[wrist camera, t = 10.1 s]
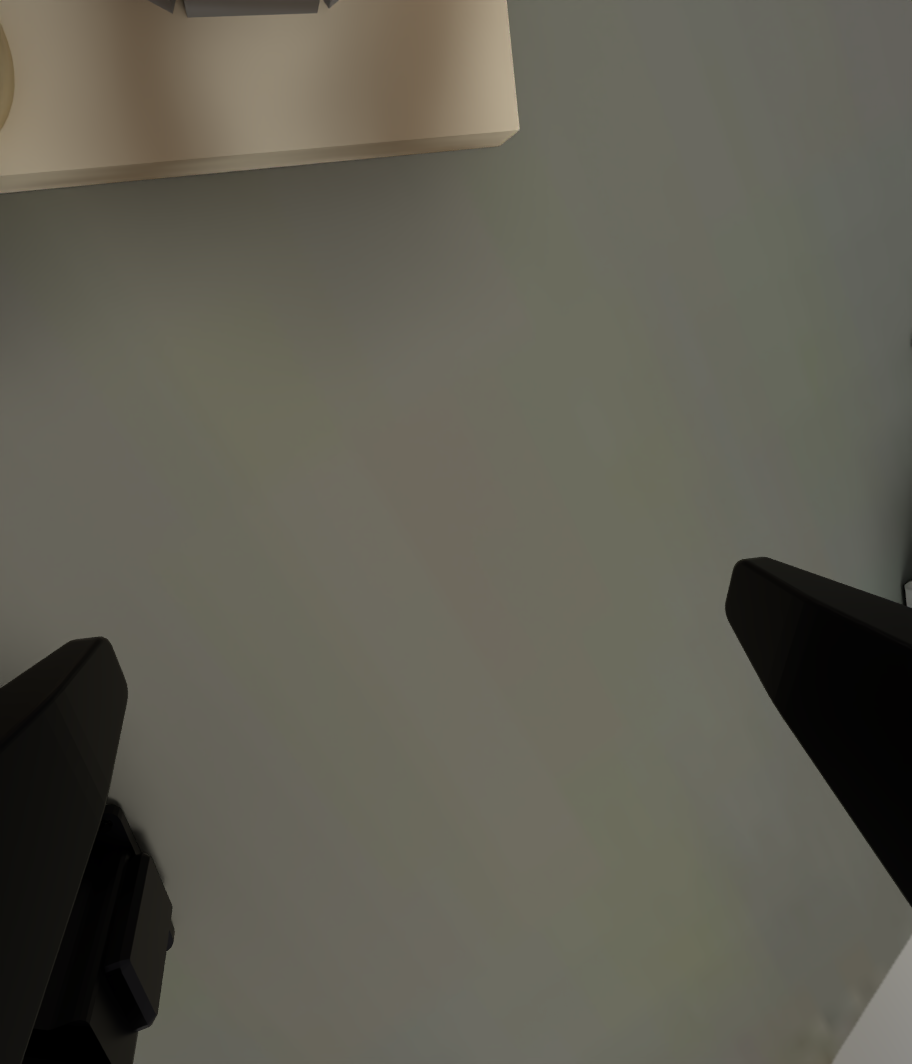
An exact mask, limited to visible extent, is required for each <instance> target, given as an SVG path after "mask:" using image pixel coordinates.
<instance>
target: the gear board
mask: <svg viewBox="0 0 912 1064" xmlns="http://www.w3.org/2000/svg"><path fill="white" fill-rule="evenodd" d="M519 130H520V129H519V119H518V109H517V99H516V89H515V79H514V69H513V59H512V49H511V39H510V29H509V20H508V10H507V0H0V193H10V192H21V191H31V190H42V189H53V188H63V187H74V186H84V185H95V184H105V183H116V182H126V181H137V180H148V179H158V178H169V177H179V176H190V175H200V174H211V173H221V172H232V171H243V170H253V169H264V168H274V167H285V166H295V165H306V164H316V163H327V162H338V161H348V160H359V159H369V158H380V157H390V156H401V155H411V154H422V153H433V152H443V151H454V150H464V149H475V148H485V147H496V146H500V145H502V144H503V143H504V142H505V141H507V140H508V139H509V138H510V137H512V136H513V135H514V134H515V133H517V132H518V131H519Z"/></svg>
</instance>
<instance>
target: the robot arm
mask: <svg viewBox="0 0 912 1064" xmlns="http://www.w3.org/2000/svg"><path fill="white" fill-rule="evenodd" d="M725 611H726V616H727V619H728V621H729V623H730V625H731V627H732V629H733V631H734V632H735V634H736V636H737V638H738V640H739V642H740V644H741V645H742V647H743V649H744V651H745V653H746V655H747V657H748V658H749V660H750V662H751V664H752V666H753V668H754V670H755V671H756V673H757V675H758V677H759V679H760V681H761V682H762V684H763V686H764V688H765V690H766V692H767V693H768V695H769V697H770V698H771V700H772V702H773V704H774V705H775V707H776V708H777V710H778V711H779V713H780V714H781V716H782V718H783V719H784V721H785V722H786V723H787V725H788V726H789V728H790V729H791V731H792V732H793V734H794V735H795V737H796V738H797V740H798V741H799V743H800V744H801V746H802V747H803V748H804V750H805V751H806V753H807V754H808V756H809V757H810V759H811V760H812V762H813V763H814V765H815V766H816V768H817V769H818V771H819V772H820V773H821V775H822V776H823V778H824V779H825V781H826V782H827V784H828V785H829V787H830V788H831V790H832V791H833V793H834V794H835V796H836V797H837V798H838V800H839V801H840V803H841V804H842V806H843V807H844V809H845V810H846V812H847V813H848V815H849V816H850V818H851V819H852V821H853V822H854V823H855V825H856V826H857V828H858V829H859V831H860V832H861V834H862V835H863V837H864V838H865V840H866V841H867V843H868V844H869V846H870V847H871V848H872V850H873V851H874V853H875V854H876V856H877V857H878V859H879V860H880V862H881V863H882V865H883V866H884V868H885V869H886V871H887V872H888V873H889V875H890V876H891V878H892V879H893V881H894V882H895V884H896V885H897V887H898V888H899V890H900V891H901V893H902V894H903V896H904V897H905V898H906V900H907V901H908V903H909V904H910V906H911V907H912V608H910V607H908V606H905V605H902V604H899V603H896V602H893V601H890V600H888V599H885V598H882V597H879V596H876V595H873V594H870V593H868V592H865V591H862V590H859V589H856V588H853V587H851V586H848V585H845V584H842V583H839V582H836V581H833V580H831V579H828V578H825V577H822V576H819V575H816V574H813V573H811V572H808V571H805V570H802V569H799V568H796V567H793V566H791V565H788V564H785V563H782V562H779V561H776V560H773V559H771V558H767V557H757V558H749V559H742V560H740V561H738V562H737V563H736V564H735V566H734V568H733V572H732V576H731V581H730V585H729V590H728V594H727V598H726V603H725ZM127 699H128V688H127V683H126V680H125V677H124V675H123V672H122V670H121V667H120V665H119V662H118V660H117V657H116V655H115V652H114V650H113V647H112V645H111V643H110V642H109V640H108V639H106V638H104V637H92V638H84V639H75V640H72V641H69V642H68V643H66V644H65V645H63V646H62V647H60V648H59V649H57V650H56V651H54V652H53V653H51V654H50V655H49V656H47V657H46V658H44V659H43V660H41V661H40V662H38V663H37V664H35V665H34V666H32V667H31V668H29V669H28V670H27V671H25V672H24V673H22V674H21V675H19V676H18V677H16V678H15V679H13V680H12V681H10V682H9V683H8V684H6V685H5V686H3V687H2V688H0V1064H133V1060H134V1054H135V1048H136V1042H137V1036H138V1031H140V1030H143V1029H145V1028H147V1027H150V1026H151V1025H152V1023H153V1022H154V1020H155V1018H156V1016H157V1014H158V1008H159V1000H160V993H161V986H162V979H163V972H164V965H165V958H166V951H168V950H169V949H170V948H171V947H172V944H173V942H174V934H175V931H174V927H173V924H172V922H171V915H172V904H171V902H170V899H169V897H168V895H167V892H166V890H165V888H164V885H163V883H162V881H161V878H160V876H159V874H158V872H157V869H156V867H155V865H154V862H153V860H152V858H151V856H149V855H147V854H146V853H141V851H140V849H139V847H138V845H137V842H136V840H135V838H134V836H133V833H132V831H131V829H130V826H129V824H128V822H127V820H126V817H125V815H124V813H123V811H122V810H121V809H120V808H119V807H117V806H115V805H106V801H107V797H108V793H109V788H110V784H111V779H112V774H113V769H114V764H115V759H116V754H117V749H118V744H119V739H120V734H121V729H122V725H123V720H124V715H125V710H126V705H127ZM105 819H107V820H110V821H111V823H108V824H104V823H101V820H105Z"/></svg>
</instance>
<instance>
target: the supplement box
mask: <svg viewBox="0 0 912 1064" xmlns="http://www.w3.org/2000/svg"><path fill="white" fill-rule="evenodd" d="M904 587H905V592H906V602H907V606H908V607H910V608H912V581H910V582H908V583H907V584H905V586H904Z"/></svg>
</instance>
